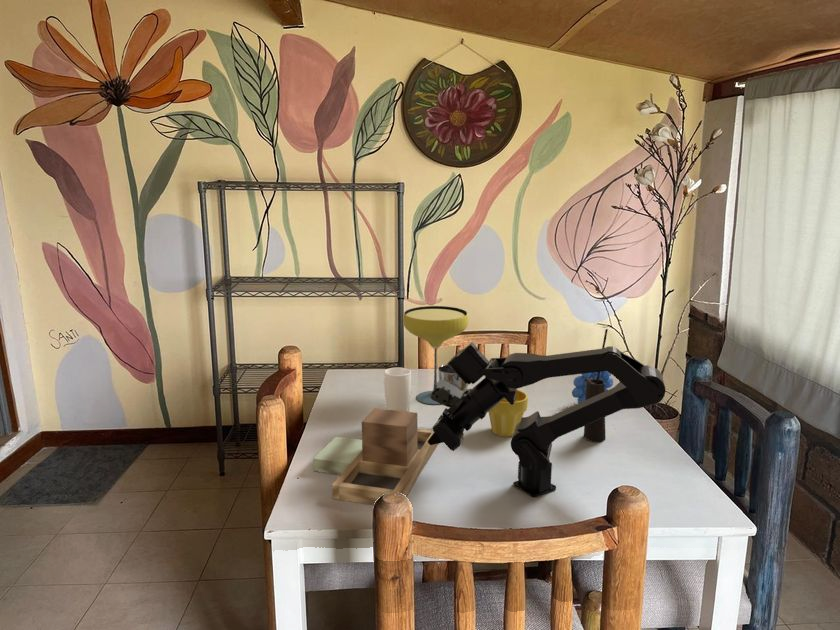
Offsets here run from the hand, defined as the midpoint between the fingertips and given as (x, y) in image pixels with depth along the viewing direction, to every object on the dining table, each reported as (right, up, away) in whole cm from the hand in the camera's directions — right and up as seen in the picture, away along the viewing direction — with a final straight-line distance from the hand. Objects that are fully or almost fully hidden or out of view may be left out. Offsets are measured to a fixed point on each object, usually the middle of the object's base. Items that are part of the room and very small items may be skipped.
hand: (429, 442), depth 138 cm
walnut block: (-8, -3, +3) cm, 10 cm away
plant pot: (+19, -2, +23) cm, 30 cm away
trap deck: (-13, -6, +5) cm, 15 cm away
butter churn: (+40, -3, +20) cm, 45 cm away
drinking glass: (-7, -1, +26) cm, 27 cm away
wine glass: (+7, -1, +28) cm, 29 cm away
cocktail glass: (+2, +3, +46) cm, 46 cm away
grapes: (+45, +2, +41) cm, 62 cm away
